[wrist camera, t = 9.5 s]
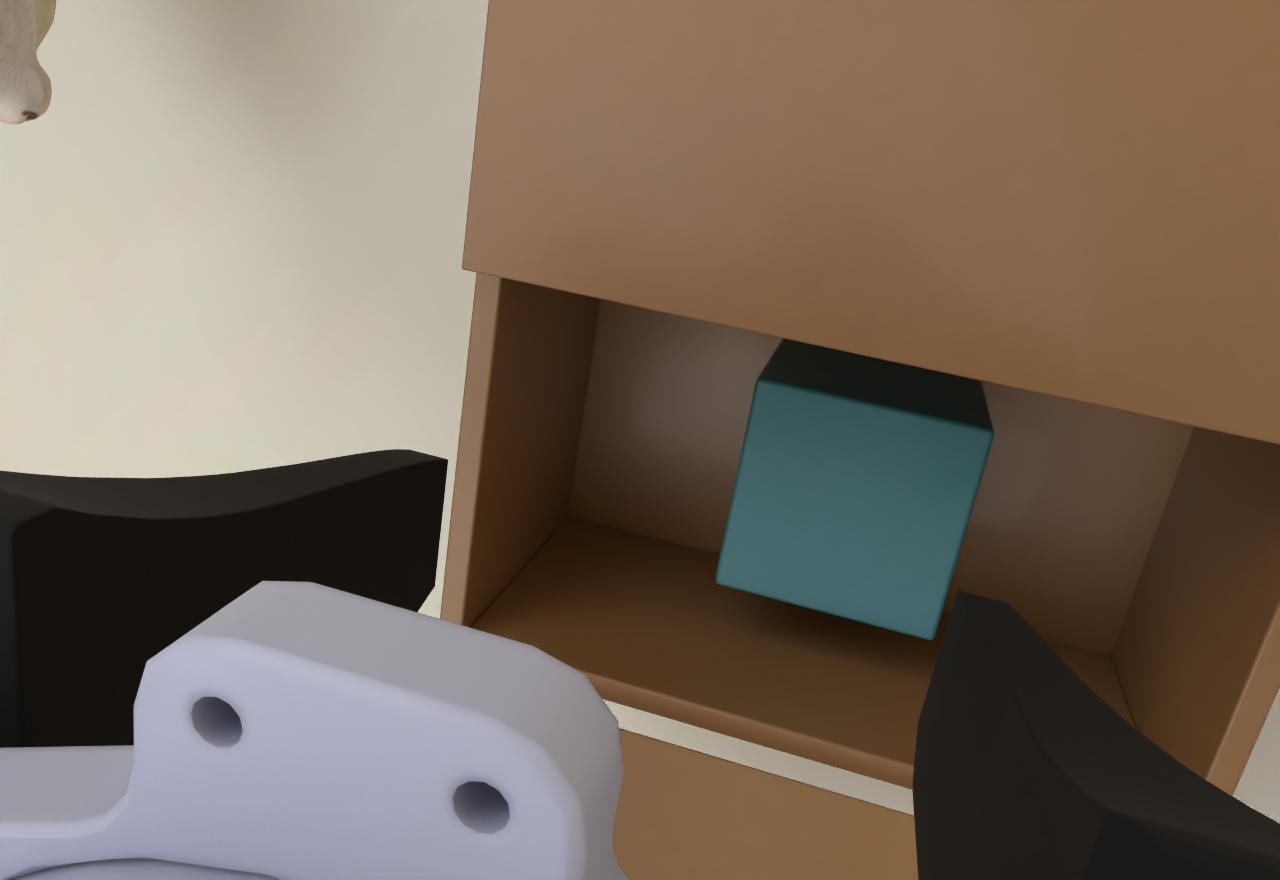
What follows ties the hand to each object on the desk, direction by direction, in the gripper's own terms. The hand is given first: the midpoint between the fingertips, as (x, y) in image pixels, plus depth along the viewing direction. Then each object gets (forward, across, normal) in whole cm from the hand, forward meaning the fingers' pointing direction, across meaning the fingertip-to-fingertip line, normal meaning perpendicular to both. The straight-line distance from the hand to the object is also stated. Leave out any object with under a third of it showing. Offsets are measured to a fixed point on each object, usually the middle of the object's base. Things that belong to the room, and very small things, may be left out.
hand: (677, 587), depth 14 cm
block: (+8, -2, 0) cm, 9 cm away
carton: (+9, -2, -3) cm, 10 cm away
